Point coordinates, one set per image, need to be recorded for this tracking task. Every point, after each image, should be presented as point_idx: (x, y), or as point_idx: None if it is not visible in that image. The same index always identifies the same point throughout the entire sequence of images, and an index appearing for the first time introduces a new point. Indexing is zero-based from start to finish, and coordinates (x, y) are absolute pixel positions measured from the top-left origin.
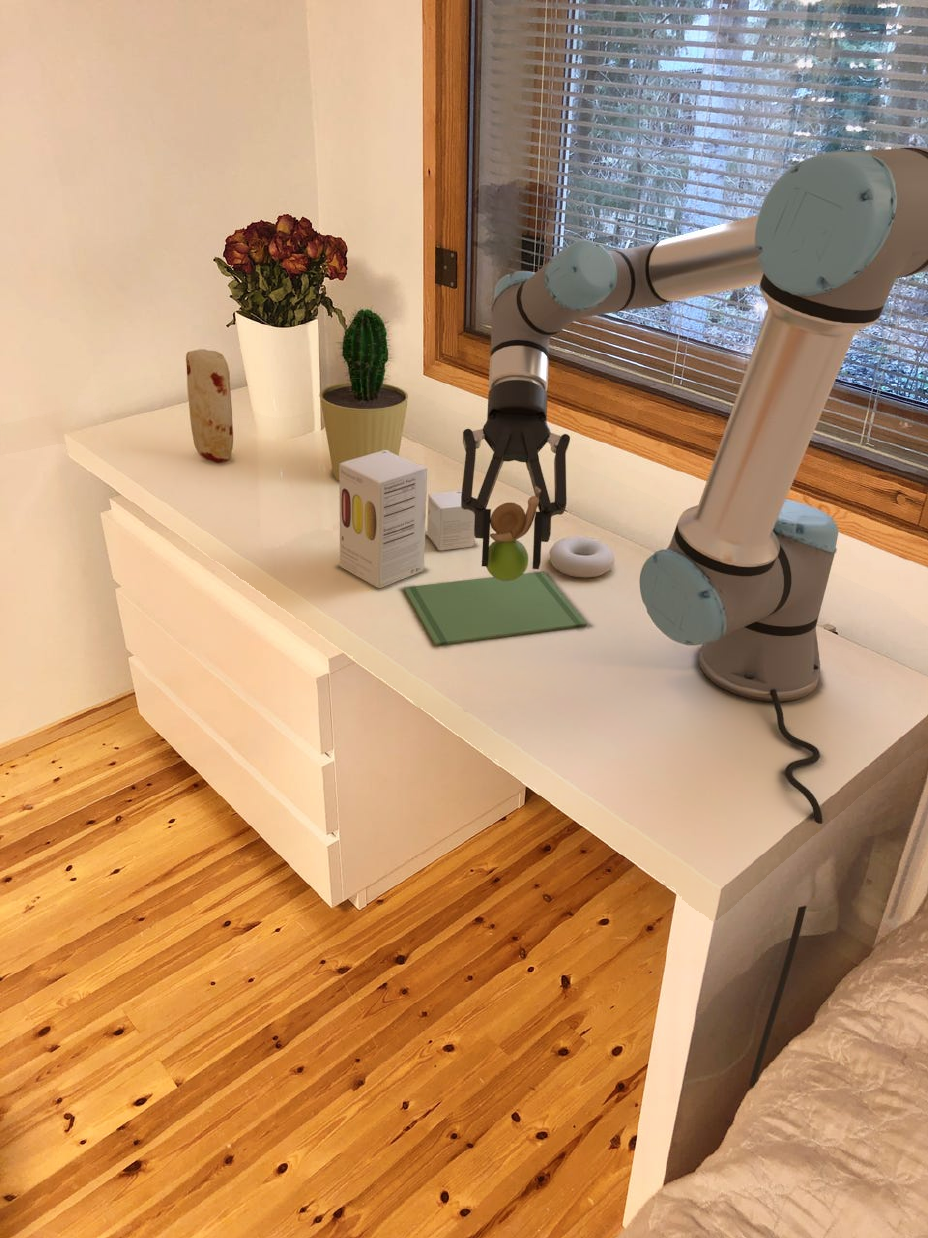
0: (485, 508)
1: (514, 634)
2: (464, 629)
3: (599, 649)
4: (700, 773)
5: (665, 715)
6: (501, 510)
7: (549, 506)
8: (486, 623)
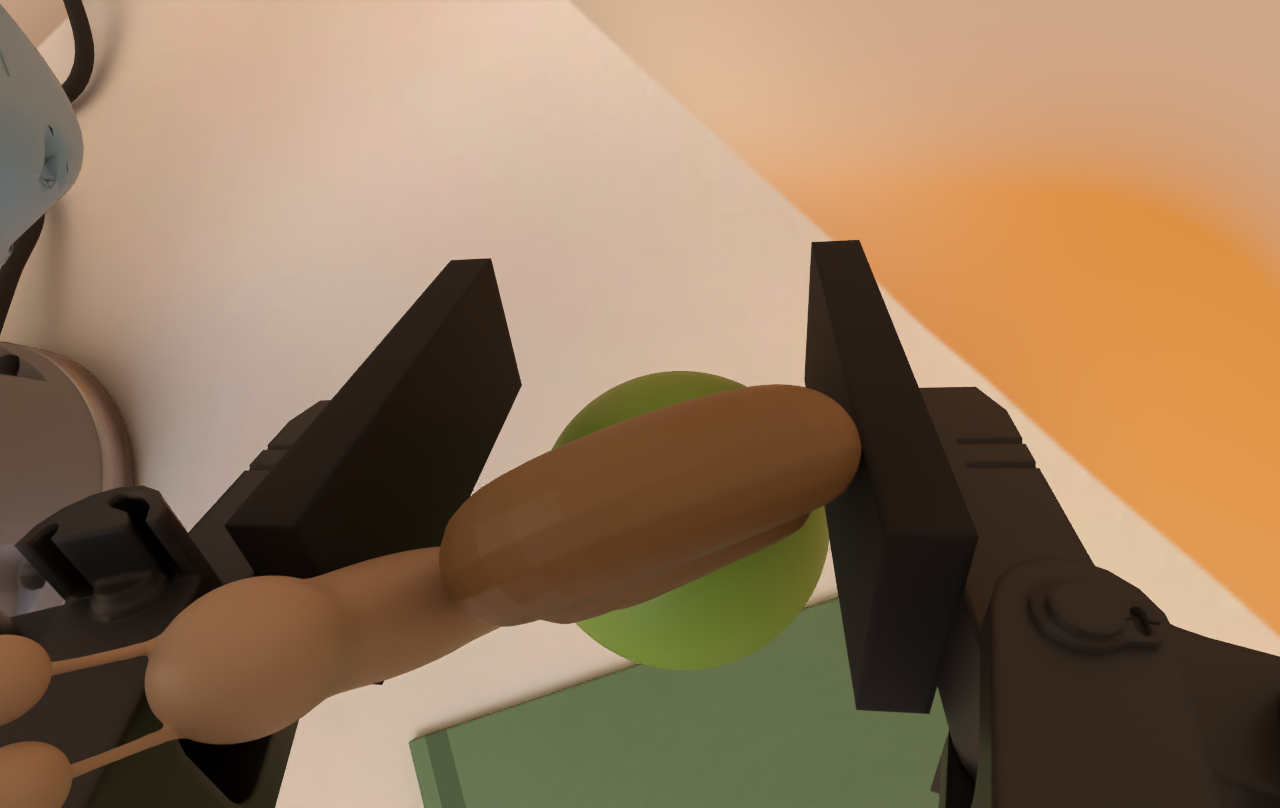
0: (949, 765)
1: None
2: (845, 671)
3: None
4: (261, 58)
5: (282, 262)
6: (731, 398)
7: (76, 517)
8: (764, 723)
